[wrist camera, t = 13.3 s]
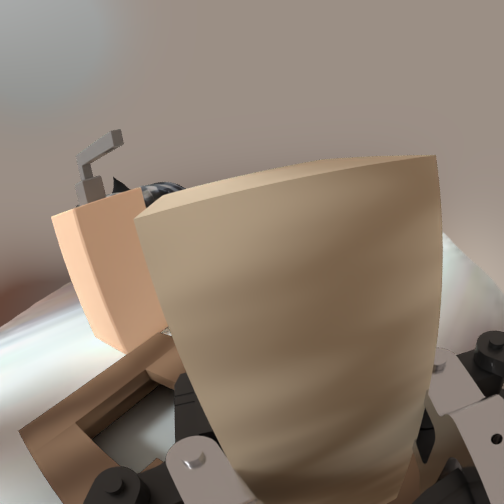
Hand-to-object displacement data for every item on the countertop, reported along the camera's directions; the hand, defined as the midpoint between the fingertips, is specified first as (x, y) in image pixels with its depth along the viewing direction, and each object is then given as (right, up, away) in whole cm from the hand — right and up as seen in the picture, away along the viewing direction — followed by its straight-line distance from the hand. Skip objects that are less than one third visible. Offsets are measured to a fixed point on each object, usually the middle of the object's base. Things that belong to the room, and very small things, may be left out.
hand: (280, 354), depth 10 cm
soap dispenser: (-14, -6, +24) cm, 28 cm away
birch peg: (+3, -10, 0) cm, 10 cm away
